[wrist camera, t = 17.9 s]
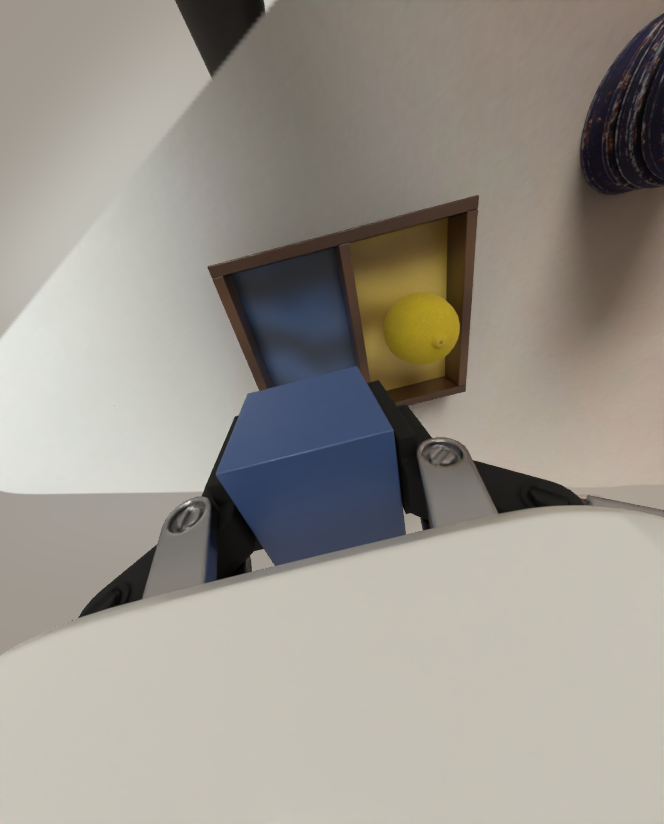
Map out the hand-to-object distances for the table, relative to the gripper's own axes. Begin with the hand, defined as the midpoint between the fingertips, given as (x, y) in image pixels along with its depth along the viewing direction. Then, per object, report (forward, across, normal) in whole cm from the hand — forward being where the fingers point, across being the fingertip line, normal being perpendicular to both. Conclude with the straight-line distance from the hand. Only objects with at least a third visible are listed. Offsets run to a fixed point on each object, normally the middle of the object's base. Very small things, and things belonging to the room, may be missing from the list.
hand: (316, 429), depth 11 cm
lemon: (+16, -9, +1) cm, 18 cm away
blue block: (0, 0, 0) cm, 0 cm away
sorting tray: (+16, -4, +1) cm, 17 cm away
